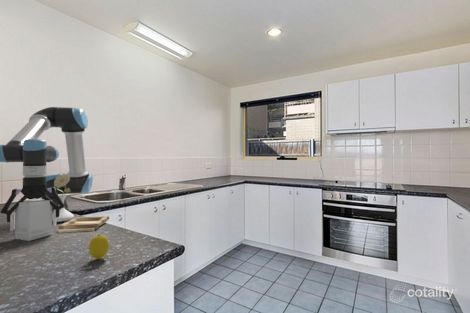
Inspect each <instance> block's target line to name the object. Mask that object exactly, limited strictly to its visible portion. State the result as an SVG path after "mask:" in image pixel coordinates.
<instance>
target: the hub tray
mask: <svg viewBox="0 0 470 313" xmlns="http://www.w3.org/2000/svg"><path fill="white" fill-rule="evenodd" d="M109 220H110V215H105V216H104V215H101V216H80V217H75V216H74V218H73V219H71V220H68V221H64V223H62V224H60V225H58V226H57V227H58V230H57V231H58V232H57V233H59V234H60V233H61V234H62V233H63V234H64V233H79V232H82V233H83V232H94V231H96V230H97V229H98V228H100V227H102V225H104V224H105V223H107V221H109ZM99 226H100V227H99Z"/></svg>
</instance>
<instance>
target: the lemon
mask: <svg viewBox="0 0 470 313" xmlns="http://www.w3.org/2000/svg"><path fill="white" fill-rule="evenodd" d="M109 248H110V241H109V239H108V238H107V237H106V235H104V234H101V233H98V234H97V235H95V236H94V237H92V239H91V240H90V241H89V246H88V251H89V252H88V253H89V254H90V256H91V257H92V258H94V259H97V260H101V259H102V258H103V257H105V255H106V254H107V253H108V251H109Z"/></svg>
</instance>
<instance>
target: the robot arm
mask: <svg viewBox="0 0 470 313" xmlns="http://www.w3.org/2000/svg"><path fill="white" fill-rule="evenodd" d="M87 117H88V116H87V114H86V112H85V110H83V109H82V108H79V107H77V108H76V107H60V106H59V107H57V106H51V107H50V106H49V107H45V108H43V109H40V110H39V111H36V112H34V113H33V114H32V115H31V116H30V117H29V119H28V122H27V123H26V124H25V125H24V126H23V127H22V128H21V129H20V130H19V131H18V132H17V133H16V134H15V135H14V136H13V137H12V138H11V139H10V140H9V141H8V142H7V143H6V144H0V163H22V176H24V177H23V178H22V188H21V189H20V188H14V189H12V190H11V194H10V196H9V198H8V200H6V202H5V204H4V206H3V207H2V208H1V210H0V214H5V215H6V222H7V223H9V225H10V226H9V227H10V228H9V230H10V232H13V231H14V230H15V212H14V211H15V209H16V208H17V207H18V206H19V203H20V202H23V201H27V200H35V199H44V200H49V201H50V205H51V206H52V212H53V213H52V214H53V222H52V227H56V226H57V222H56V217H59V215H60V209H61V208H65V209H66V210H67V209H68V210H69V205H68V202H67V200H66V198H65V199H64V203H63V202H62V200H61V199H60V197H59V196H58V194H62V193H63V192H64V193H63V194H67V195H74V194H75V195H76V194H88V193H89V192H91V189H92V187H93V180H94V178H93V175H91V174H89V171H88V169H86V161H85V160H86V159H85V151H84V150H85V149H84V139H83V133H84V132H85V129H87V128H88V126H89V125H88V121H89V120H88V118H87ZM50 128H60V129H61V130H60V131H61V133H63V134H64V137H65V144H66V145H65V146H66V152H67V160H68V161H67V164H68V169H69V171H68V172H67V173H66V174H67V175H69V176H70V181H68V183H67V184H66V185H65V186H66V189H67V188H69V189H70V191H71V192H68V193H66V192H65V191H64V190H65V186H62V187H59V188H58V187H56V186H54V180H55V179H56V177H58V176H59V175H61V174H64V173H55V174H48V175H47V163H52V162H55V161H56V160H57V159H58V158H59V156H60V152H59V150H58V149H57V148H56V147H55V146H52V145H47V140H45V139H39V137H41V136H42V134H43V133H44V132H46V131H47V130H49V129H50ZM57 188H58V189H59V190H62V191H63V192H61V191H59V190H57ZM20 193H21V194H22V195H23V196H22V197H21V198H20V199H19V200H18V201H16V202H17V203H16V202H15V203H16V204H15V203H14V204H13V206H11V205H12V203H13V202H14V200H15V198H16V197H17V195H20ZM51 200H52V201H51ZM59 205H60V206H59ZM9 208H10V209H9ZM68 210H67V211H68Z"/></svg>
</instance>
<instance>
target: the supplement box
mask: <svg viewBox="0 0 470 313" xmlns="http://www.w3.org/2000/svg"><path fill="white" fill-rule="evenodd" d="M51 201H52V200H51ZM17 202H18V201H16V202H15V203H14V205H15V204H16V203H17ZM14 211H15V212H14V213H15V229H14V230H15V231H14V232H15V234H14V239H15V240H19V239H20V241H27V242H31V241H33V240H39V239H41V238H45V237H48V236H52V235H53V222H52V214H53V213H52V206H51V205H50V201H49V200H44V199H42V198H39V199H27V200H25V201H23V202H20V203H19V206H18V207H17V208H16V209H15V210H14Z"/></svg>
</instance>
